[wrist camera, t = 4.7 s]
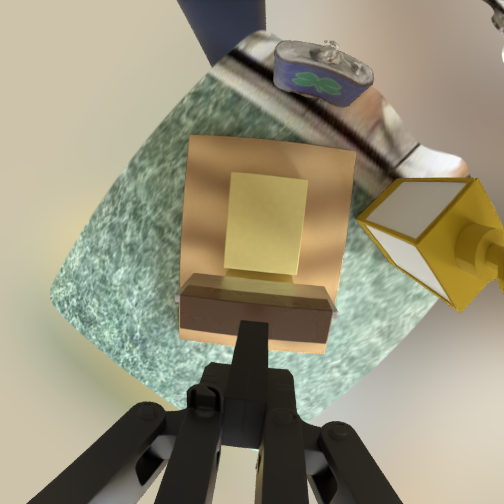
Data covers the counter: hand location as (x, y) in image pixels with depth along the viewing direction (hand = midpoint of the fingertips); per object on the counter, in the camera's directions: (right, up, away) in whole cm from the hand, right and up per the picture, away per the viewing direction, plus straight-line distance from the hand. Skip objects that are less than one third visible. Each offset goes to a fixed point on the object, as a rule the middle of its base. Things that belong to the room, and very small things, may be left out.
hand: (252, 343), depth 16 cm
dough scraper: (+1, +2, +11) cm, 11 cm away
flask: (+7, +23, +14) cm, 28 cm away
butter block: (+1, +8, +16) cm, 18 cm away
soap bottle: (+19, +10, +16) cm, 27 cm away
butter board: (+1, +5, +18) cm, 19 cm away
